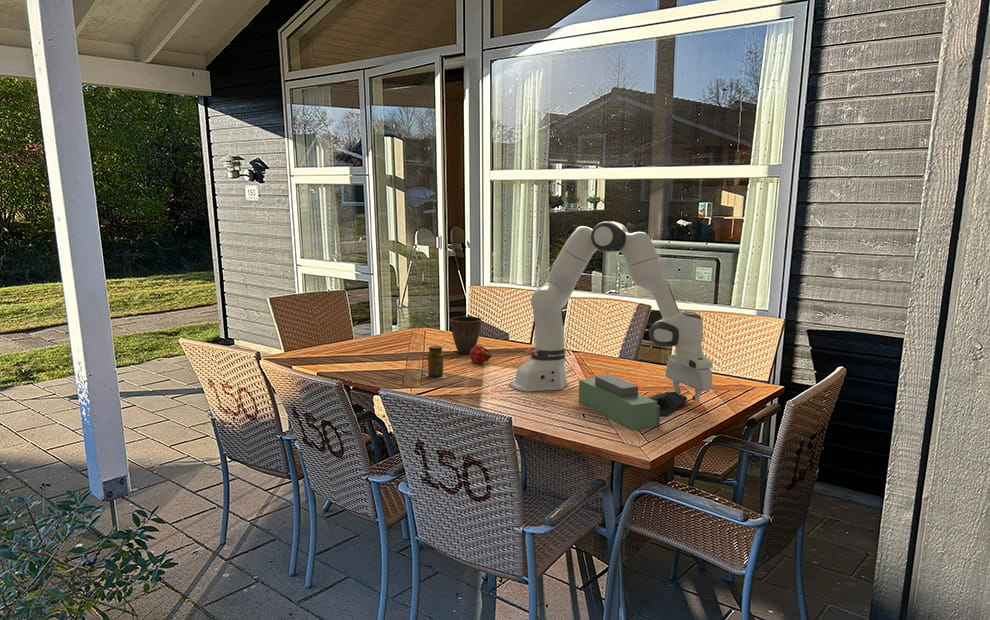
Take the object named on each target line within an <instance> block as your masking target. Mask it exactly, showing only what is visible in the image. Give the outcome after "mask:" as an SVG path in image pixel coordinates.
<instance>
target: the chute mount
mask: <svg viewBox="0 0 990 620" xmlns="http://www.w3.org/2000/svg"><path fill="white" fill-rule="evenodd" d="M578 403H580V404H582V405H584V406H585V407H587V408H590V409H592V410H594V411H596V412H597V413H599V414H600V415H603V416H605V417H607V418H608V419H610V420H613V421H614V422H616V423H618V424H620V425H621V426H623V427H625V428H627V429H629V430H631V431H635V430H642V429H648V428H654V427H657V426H658V425H660V422H661V421H660V418H661V416H660V406H659V405H657V401H655V400H652V399H650V398H648V397H647V396H645V395H643V394H641V393H639V386H638V385H636V384H634V383H631V382H629V381H626V380H625V379H624V380H623V378H619V377H616V376H615V375H612V374H605V375H596V376H595V377H591V378H583V379H578Z"/></svg>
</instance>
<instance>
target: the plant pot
mask: <svg viewBox="0 0 990 620" xmlns="http://www.w3.org/2000/svg"><path fill="white" fill-rule="evenodd" d="M482 320H483V319H482V318H481V317H478V316H476V317H475V316H455V317H451V318H449V321H450V322H449V323H450V328H451V335H452V337H453V342H454V345H455V348H456V351H457V352H459V354H462V353H464V355H465V354H466V355H468V354H467V353H469V352H470V350H471V348H473V347H474V346H476V345H478V344H477V343H478V340H479V337H480V333H481V328H482V327H481V326H482V322H483V321H482Z"/></svg>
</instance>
